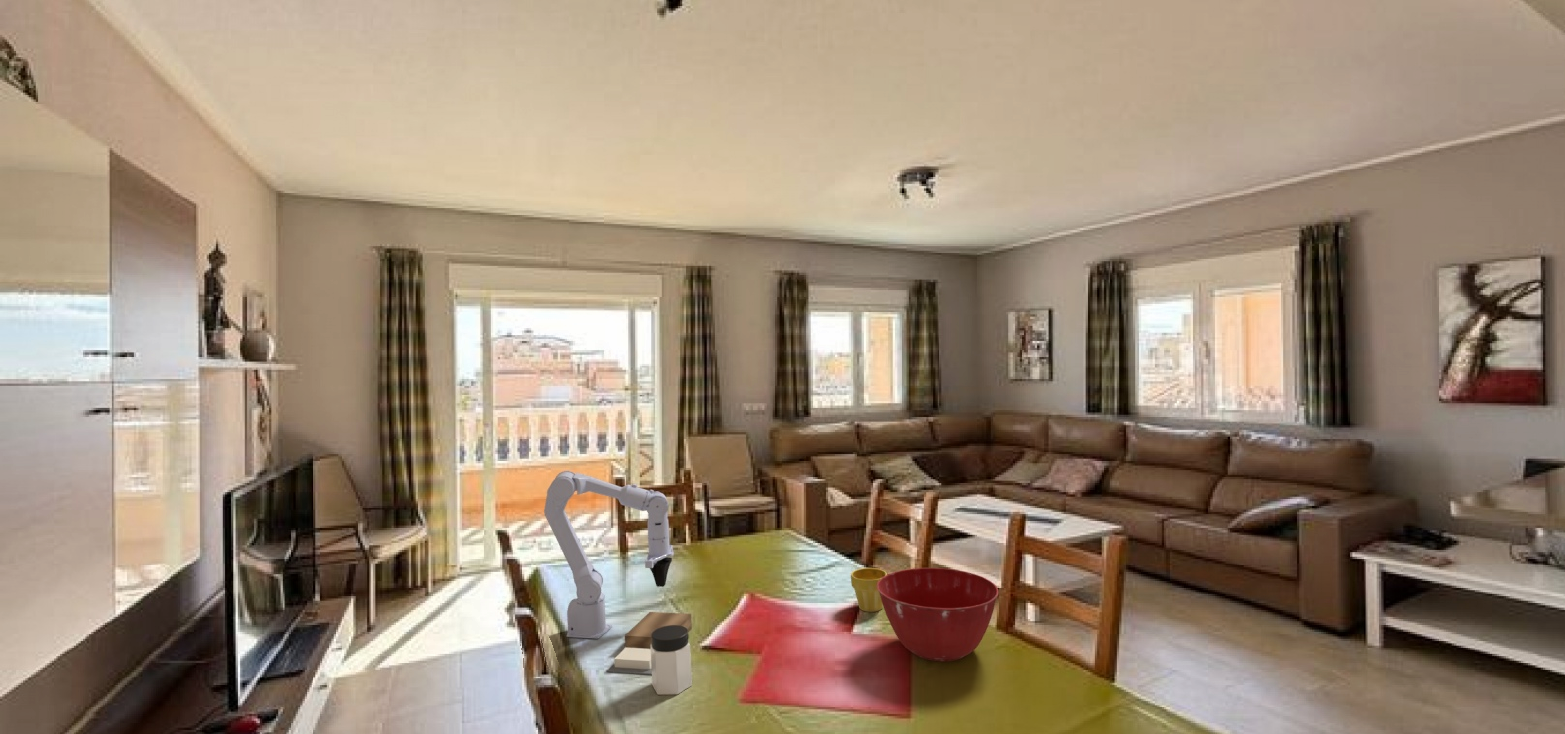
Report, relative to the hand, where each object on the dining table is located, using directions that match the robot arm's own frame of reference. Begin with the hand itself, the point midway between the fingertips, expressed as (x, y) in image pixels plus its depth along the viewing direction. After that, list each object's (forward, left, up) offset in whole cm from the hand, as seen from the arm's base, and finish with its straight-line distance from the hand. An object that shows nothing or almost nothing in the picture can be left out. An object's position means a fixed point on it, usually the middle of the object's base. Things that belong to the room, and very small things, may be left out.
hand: (660, 585), depth 176 cm
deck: (+4, -10, -10) cm, 15 cm away
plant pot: (+56, +17, -11) cm, 59 cm away
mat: (+4, -23, -10) cm, 26 cm away
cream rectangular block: (+4, -23, -8) cm, 25 cm away
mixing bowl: (+75, -7, -11) cm, 76 cm away
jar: (+16, -32, -11) cm, 37 cm away
